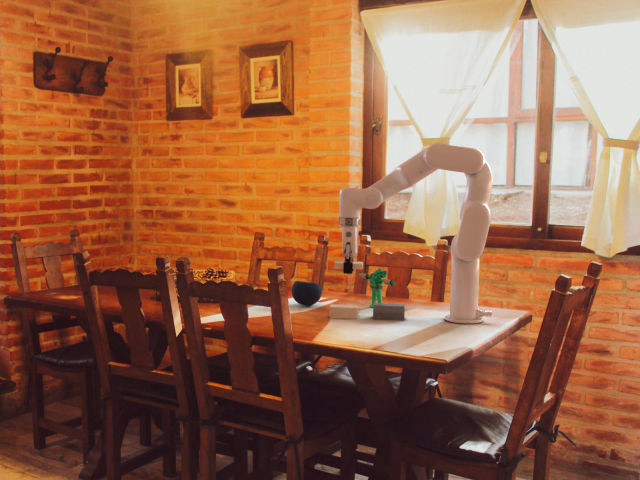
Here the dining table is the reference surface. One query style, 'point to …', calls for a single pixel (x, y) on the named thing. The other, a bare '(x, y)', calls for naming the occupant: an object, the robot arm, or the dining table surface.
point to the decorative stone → (306, 292)
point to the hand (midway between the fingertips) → (348, 271)
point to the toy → (377, 284)
